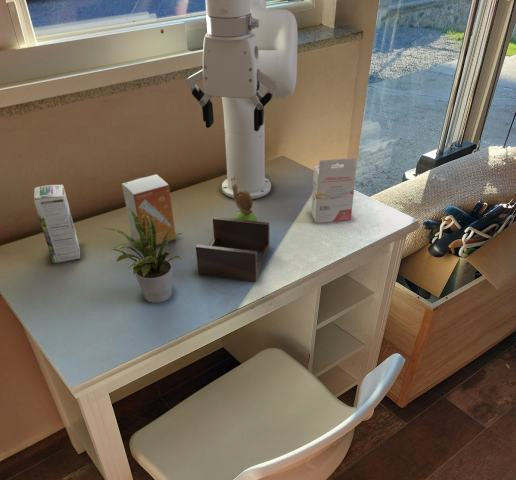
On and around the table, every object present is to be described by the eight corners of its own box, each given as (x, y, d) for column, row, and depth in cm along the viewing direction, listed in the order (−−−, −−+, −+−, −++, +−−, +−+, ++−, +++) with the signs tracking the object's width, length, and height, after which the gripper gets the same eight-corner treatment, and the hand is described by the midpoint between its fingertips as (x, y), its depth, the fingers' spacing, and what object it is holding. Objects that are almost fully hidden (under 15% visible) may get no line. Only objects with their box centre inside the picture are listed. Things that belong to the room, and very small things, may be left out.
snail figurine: (243, 223, 119) (241, 173, 111) (262, 233, 116) (262, 183, 107) (225, 231, 116) (222, 181, 108) (244, 242, 113) (242, 191, 105)
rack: (216, 243, 113) (213, 216, 108) (269, 249, 111) (269, 222, 106) (198, 274, 104) (195, 246, 100) (256, 282, 102) (255, 254, 97)
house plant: (103, 288, 101) (83, 213, 90) (165, 264, 107) (153, 190, 96) (137, 325, 93) (119, 247, 81) (202, 296, 99) (193, 220, 87)
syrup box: (52, 250, 112) (31, 187, 102) (80, 245, 113) (62, 182, 103) (53, 264, 108) (31, 199, 98) (82, 259, 109) (63, 195, 99)
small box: (143, 250, 111) (132, 194, 102) (131, 238, 115) (120, 182, 106) (177, 239, 114) (169, 184, 105) (164, 227, 118) (156, 173, 109)
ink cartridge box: (345, 210, 123) (352, 149, 113) (351, 220, 119) (358, 158, 109) (310, 213, 122) (314, 151, 112) (314, 223, 118) (319, 161, 109)
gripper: (282, 22, 90) (280, 123, 102) (188, 19, 93) (197, 117, 104) (273, 33, 84) (273, 137, 96) (174, 29, 87) (185, 131, 99)
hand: (233, 127), depth 100 cm, fingers open, 9 cm apart
